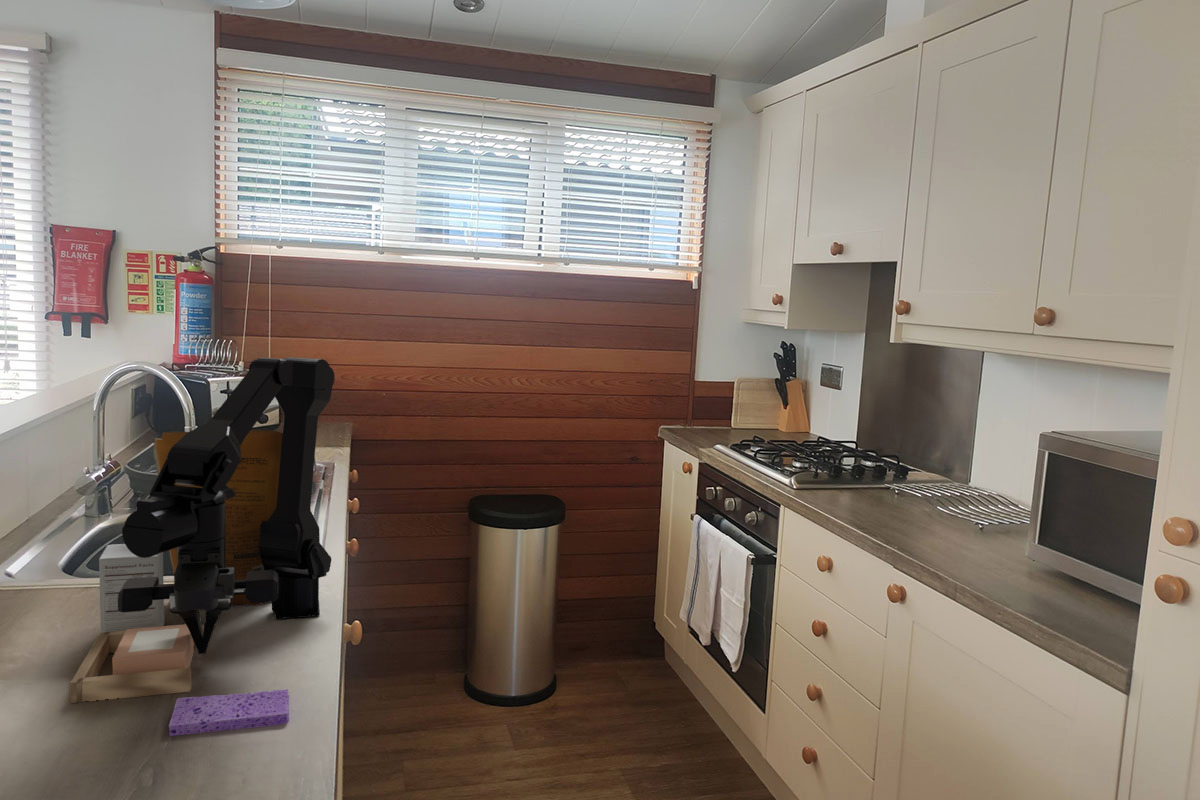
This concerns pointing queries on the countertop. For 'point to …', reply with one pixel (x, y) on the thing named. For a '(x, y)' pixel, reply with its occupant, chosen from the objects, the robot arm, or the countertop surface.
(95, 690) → the u-shaped wooden frame
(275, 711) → the sponges
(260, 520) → the pancake mix bag
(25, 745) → the countertop surface
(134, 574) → the supplement box
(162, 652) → the carton
